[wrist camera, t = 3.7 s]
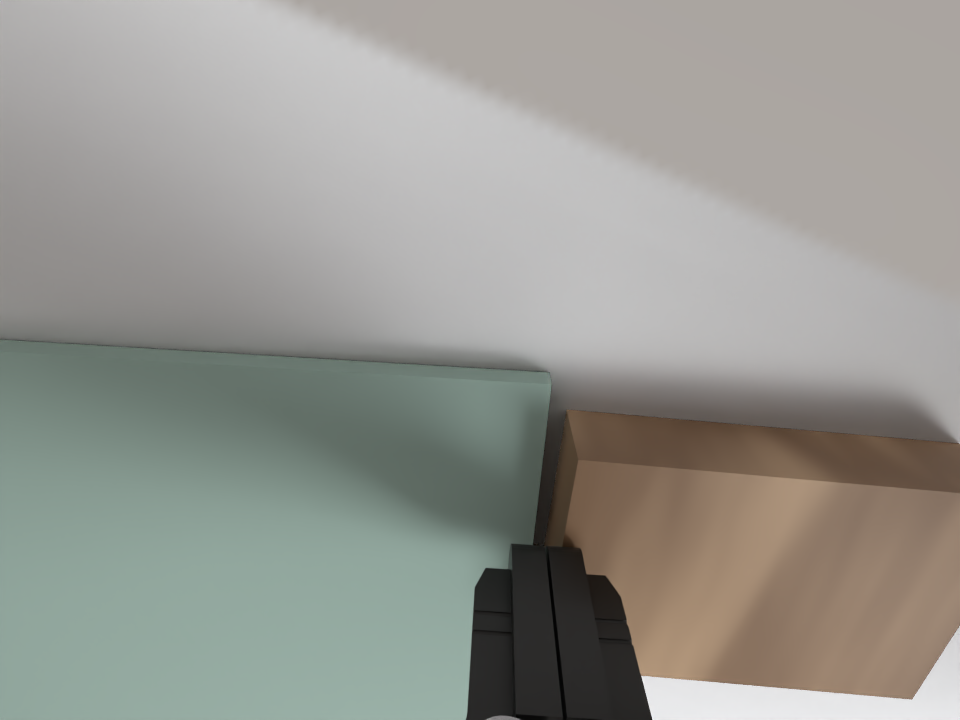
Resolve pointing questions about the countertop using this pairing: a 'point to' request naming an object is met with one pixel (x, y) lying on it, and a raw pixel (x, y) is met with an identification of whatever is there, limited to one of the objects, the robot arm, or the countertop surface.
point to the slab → (767, 548)
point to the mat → (252, 531)
